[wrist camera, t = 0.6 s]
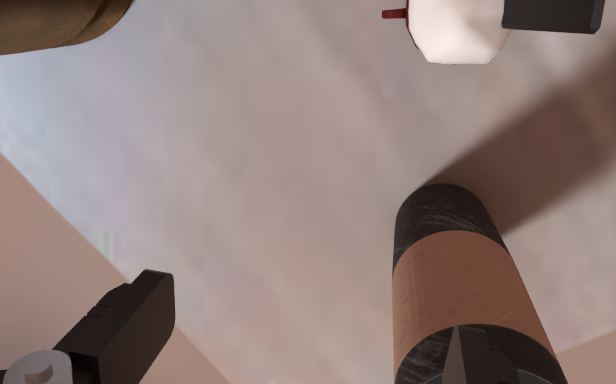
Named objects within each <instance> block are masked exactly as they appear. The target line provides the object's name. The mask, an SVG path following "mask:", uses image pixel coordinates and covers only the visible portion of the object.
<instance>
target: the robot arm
mask: <svg viewBox="0 0 616 384" xmlns="http://www.w3.org/2000/svg"><path fill="white" fill-rule="evenodd" d="M174 324H175V297H174V279H173V275H172V274H171V273H165V272H160V271H154V270H148V269H146V270H144V271H143V272H142V273H141V274H140V275H139V276H138V277H137V278H136V279H135V280H134V281H133V282H132V283H131V284H127V283H124V284H122V285H120V286H118V287H116V288H114V289H113V290H111V291H109V292H108V293H106V295H104V297H103V298H102V299H101V300H100V301H99V302H98V303H97V304H96V306H94V307H93V308H92V309H91V310H90V311H89V312H88V313H87V316H84V317H83V318H82V319H81V320H80V321H79V322H78V323H77V324H76V325H75V326H74V327H73V328H72V329H71V330H70V331H69V332H68V333H67V334H66V335H65V336H64V337H63V338H62V339H61V341H59V342H58V344H57V345H56V346H55V347H54V348H53V349H52V350H43V351H37V352H34V353H31V354H28V355H26V356H24V357H22V358H20V359H19V360H17V361H16V362H15V363H13V364H12V365H11V366H10V367H9V369H8V370H0V384H139V382H140V381H141V379H142V378H143V376H144V375H145V373H146V372H147V370H148V369H149V367H150V366H151V365H152V363H153V362H154V360H155V359H156V357H157V355H158V354H159V352H160V351H161V350H162V348H163V347H164V345H165V344H166V342H167V341H168V339H169V338H170V336H171V334H172V331H173V328H174ZM442 384H521V383H520V379H519V376H518V372H517V369H516V368H515V366H514V365H513V364H512V363H511V361H510V360H509V359H508V358H507V356H506V355H505V354H504V353H500V352H495V351H490V348H489V343H488V339H487V335H486V331H485V330H483V329H477V328H472V327H466V326H460V325H455V327H454V330H453V333H452V337H451V342H450V346H449V350H448V354H447V358H446V362H445V366H444V370H443V377H442Z"/></svg>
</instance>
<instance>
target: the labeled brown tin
mask: <svg viewBox="0 0 616 384" xmlns="http://www.w3.org/2000/svg"><path fill="white" fill-rule="evenodd" d="M130 2H131V0H0V55H7V54H15V53H22V52H29V51H35V50H42V49H48V48H57V47H64V46H70V45H76V44H80V43H84V42H87V41H90V40H92V39H95V38H97V37H99V36H100V35H102V34H104V33H105V32H107V31H108V30H109V29H110V28H112V27H113V26H114V25H115V24H116V23H117V22H118V21H119V19H120V18H121V17H122V16H123V14H124V13H125V11H126V10H127V8H128V6H129V4H130Z"/></svg>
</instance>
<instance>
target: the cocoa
mask: <svg viewBox="0 0 616 384" xmlns="http://www.w3.org/2000/svg"><path fill="white" fill-rule="evenodd" d="M604 3H605V0H407V2H406V8H403V9H395V10H384V11H382V18H385V19H388V18H406V27H407V29H408V31H409V33H410V35H411V38H412V40H413V42H414V44H415V46H416V47H417V48H418V49H419V50H421V52H422V53H423V54H424V56H425V57H426V59H427V61H429V62H435V63H441V64H487V63H488V62H489V61H490V60H491V59H492V58H493V57H494V56H495V55H497V54H498V53H499V52H500V51H501V49H502V47H503V45H504V43H505V41H506V39H507V37H508V36H509V34H510V32H511V29H517V30H533V31H550V32H566V33H582V34H595V33H596V32H597V31H598V30H599V29H600V25H601V20H602V14H603V9H604Z"/></svg>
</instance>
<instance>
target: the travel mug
mask: <svg viewBox="0 0 616 384" xmlns="http://www.w3.org/2000/svg"><path fill="white" fill-rule="evenodd" d="M392 305H393V349H394V384H442V377H443V370H444V366H445V362H446V358H447V354H448V350H449V346H450V342H451V337H452V333H453V330H454V327H455V325H460V326H466V327H472V328H477V329H483V330H485V331H486V335H487V339H488V343H489V348H490V351H495V352H500V353H504V354H505V355H506V356H507V358H508V359H509V360H510V361H511V363H512V364H513V365H514V366H515V368H516V369H517V372H518V376H519V379H520V383H521V384H568V383H567V380H566V378H565V376H564V374H563V371H562V369H561V367H560V365H559V363H558V360H557V358H556V356H555V353H554V351H553V349H552V347H551V344H550V342H549V340H548V337H547V335H546V333H545V331H544V328H543V326H542V324H541V322H540V319H539V317H538V315H537V313H536V310H535V308H534V306H533V304H532V301H531V299H530V297H529V295H528V292H527V290H526V288H525V285H524V283H523V281H522V279H521V276H520V274H519V272H518V270H517V267H516V265H515V263H514V261H513V259H512V257H511V255H510V253H509V251H508V249H507V248H506V246H505V244H504V242H503V240H502V238H501V236H500V235H499V233H498V231H497V229H496V227H495V225H494V223H493V222H492V220H491V218H490V216H489V214H488V212H487V211H486V209H485V207H484V206H483V204H482V203H481V201H480V200H479V199H478V198H477V197H476V196H475V195H474V194H472V193H471V192H469V191H468V190H466V189H464V188H462V187H459V186H455V185H450V184H435V185H430V186H427V187H424V188H422V189H419V190H418V191H416V192H414V193H413V194H412V195H410V196H409V197H408V198H407V199H406V200H405V202H404V203H403V204H402V206H401V207H400V209H399V211H398V214H397V217H396V223H395V234H394V253H393V271H392Z"/></svg>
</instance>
